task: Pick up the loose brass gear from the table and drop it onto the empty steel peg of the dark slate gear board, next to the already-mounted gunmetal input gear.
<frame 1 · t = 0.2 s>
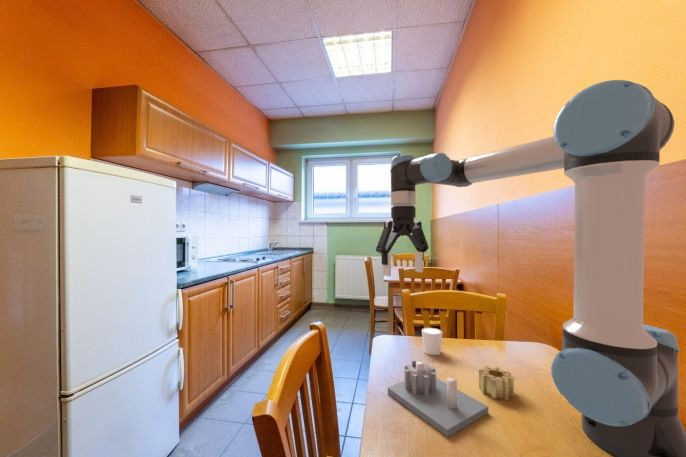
hand: (403, 273, 90), 27 cm above the table, fingers open, 13 cm apart
brass gear: (496, 391, 73), on the table
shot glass: (431, 352, 97), on the table
gear board: (435, 402, 68), on the table
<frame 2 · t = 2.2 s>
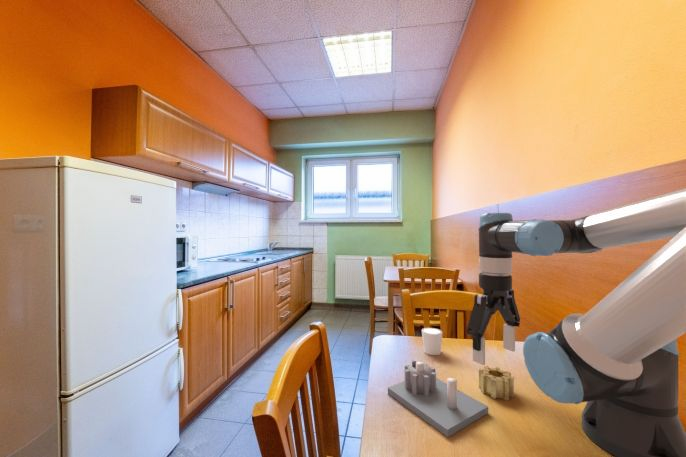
hand: (494, 355, 74), 9 cm above the table, fingers open, 13 cm apart
nothing on the table moved.
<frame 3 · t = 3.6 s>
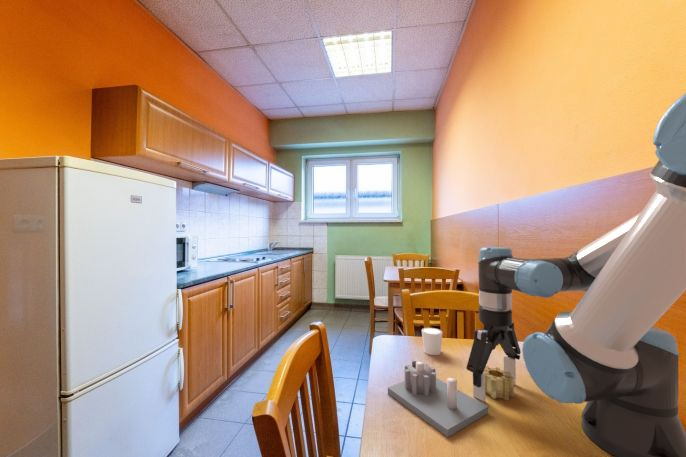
hand: (495, 390, 73), 0 cm above the table, fingers open, 13 cm apart
nothing on the table moved.
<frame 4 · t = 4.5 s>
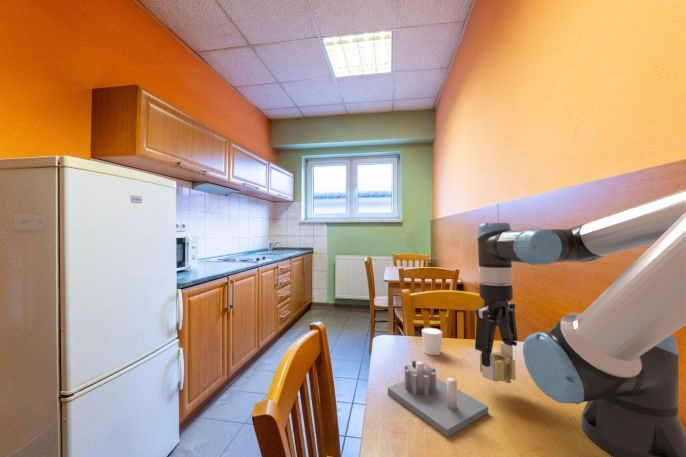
hand: (498, 374, 72), 5 cm above the table, fingers closed on brass gear, 8 cm apart
brass gear: (497, 375, 72), point 4 cm above the table, touching gripper
everything else where it was.
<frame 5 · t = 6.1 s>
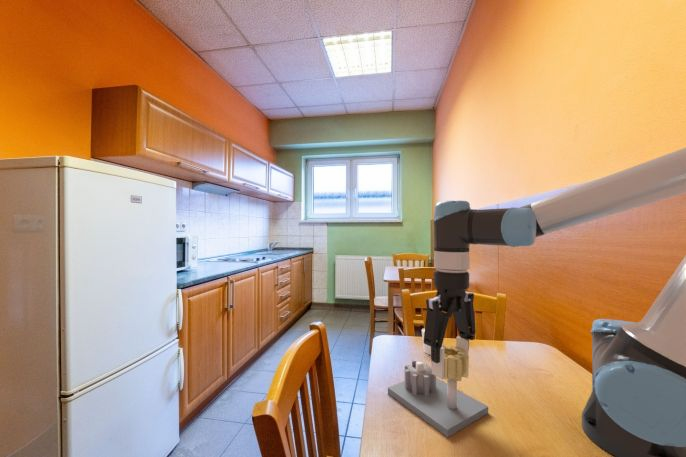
hand: (450, 370, 65), 9 cm above the table, fingers closed on brass gear, 8 cm apart
brass gear: (449, 371, 65), point 9 cm above the table, touching gripper
everything else where it was.
when the fingers open (3 cm above the table, at t = 7.6 s): brass gear stays where it is, resting on gear board.
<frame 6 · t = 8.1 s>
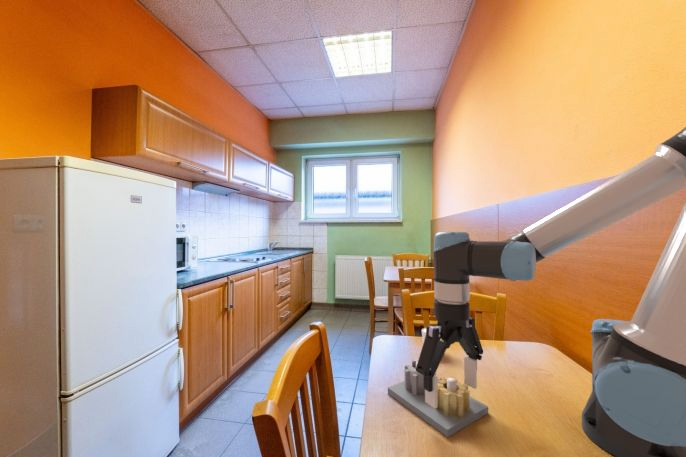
hand: (451, 394, 64), 4 cm above the table, fingers open, 13 cm apart
brass gear: (451, 406, 65), point 1 cm above the table, touching gear board
everything else where it was.
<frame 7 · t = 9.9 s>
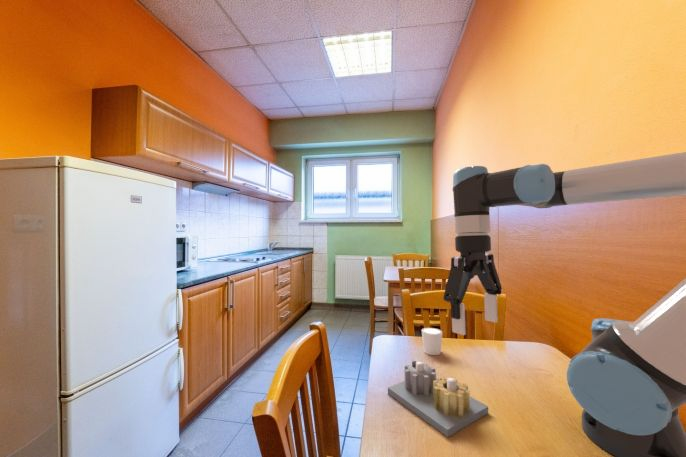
hand: (476, 327, 66), 19 cm above the table, fingers open, 13 cm apart
nothing on the table moved.
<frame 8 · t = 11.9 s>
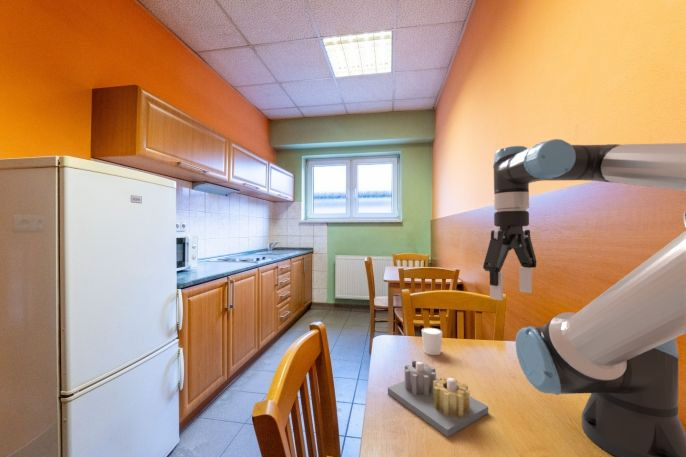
hand: (511, 295, 72), 25 cm above the table, fingers open, 13 cm apart
nothing on the table moved.
at the end: brass gear 0.2 cm from the target spot on the gear board, point 1.5 cm above the gear board's base; brass gear tilted 0°; the gripper is holding nothing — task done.
